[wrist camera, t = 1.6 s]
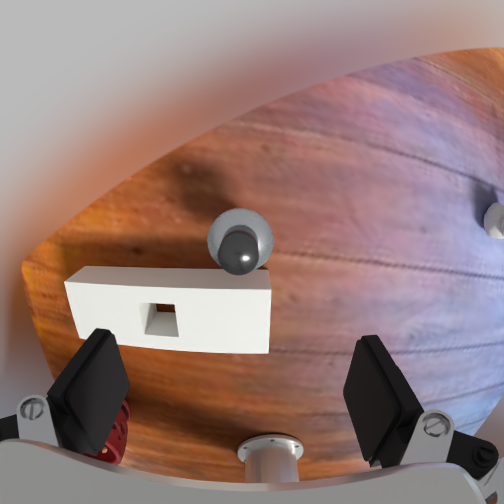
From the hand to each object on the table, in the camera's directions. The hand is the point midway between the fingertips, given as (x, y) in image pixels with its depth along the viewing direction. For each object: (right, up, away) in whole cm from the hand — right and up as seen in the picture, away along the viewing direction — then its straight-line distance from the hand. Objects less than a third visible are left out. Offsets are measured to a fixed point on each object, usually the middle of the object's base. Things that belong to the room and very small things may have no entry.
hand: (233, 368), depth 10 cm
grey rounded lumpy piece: (+37, +10, +21) cm, 43 cm away
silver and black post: (0, +7, +22) cm, 23 cm away
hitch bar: (-9, -1, +24) cm, 26 cm away
